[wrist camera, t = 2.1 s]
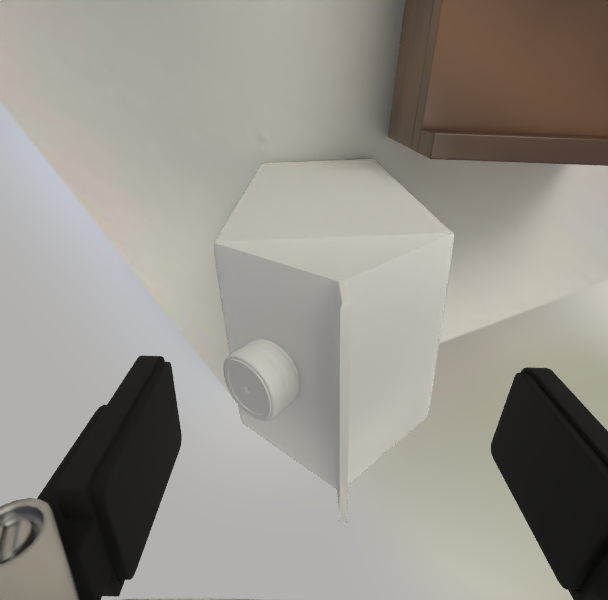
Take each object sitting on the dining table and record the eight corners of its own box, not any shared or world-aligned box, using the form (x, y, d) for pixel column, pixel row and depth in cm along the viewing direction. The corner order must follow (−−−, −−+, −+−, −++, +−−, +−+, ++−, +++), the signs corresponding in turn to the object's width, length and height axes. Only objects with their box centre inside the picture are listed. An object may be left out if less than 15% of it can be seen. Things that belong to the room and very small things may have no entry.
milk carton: (373, 157, 24) (526, 297, 8) (369, 262, 28) (469, 520, 11) (261, 162, 25) (168, 309, 8) (270, 266, 28) (218, 526, 11)
